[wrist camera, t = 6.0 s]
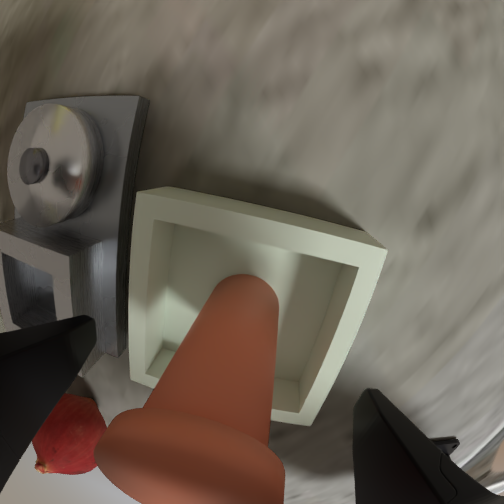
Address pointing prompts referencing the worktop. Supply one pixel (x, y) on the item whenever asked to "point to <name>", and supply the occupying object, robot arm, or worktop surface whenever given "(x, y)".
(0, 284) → the block
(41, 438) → the onion
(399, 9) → the worktop surface
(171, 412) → the pin
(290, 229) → the tray
